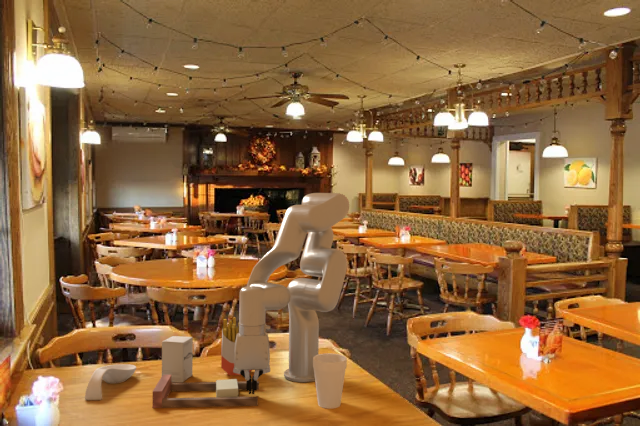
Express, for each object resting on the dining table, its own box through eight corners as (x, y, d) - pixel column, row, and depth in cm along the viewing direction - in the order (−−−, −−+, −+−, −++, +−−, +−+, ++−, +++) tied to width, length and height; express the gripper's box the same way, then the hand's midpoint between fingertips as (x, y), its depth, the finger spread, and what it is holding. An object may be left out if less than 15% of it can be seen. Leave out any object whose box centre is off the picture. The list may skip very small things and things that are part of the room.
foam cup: (334, 413, 147) (335, 365, 147) (306, 406, 152) (306, 359, 152) (352, 402, 155) (352, 356, 155) (324, 395, 160) (324, 351, 160)
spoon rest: (104, 374, 178) (104, 352, 178) (141, 374, 178) (141, 352, 178) (72, 401, 154) (72, 376, 154) (114, 401, 154) (114, 376, 154)
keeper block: (236, 392, 163) (236, 379, 163) (238, 402, 155) (238, 388, 155) (216, 393, 162) (216, 380, 161) (216, 403, 154) (216, 389, 154)
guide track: (259, 387, 166) (259, 373, 166) (257, 405, 152) (257, 389, 152) (162, 389, 164) (162, 374, 164) (152, 407, 150) (152, 391, 150)
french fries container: (255, 375, 177) (255, 320, 177) (221, 375, 177) (221, 320, 176) (255, 370, 182) (256, 316, 181) (222, 371, 181) (222, 317, 181)
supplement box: (183, 383, 169) (183, 342, 169) (160, 381, 171) (161, 341, 171) (193, 375, 177) (193, 336, 176) (171, 373, 178) (172, 335, 178)
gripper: (278, 326, 163) (277, 387, 163) (227, 326, 161) (226, 388, 162) (278, 332, 155) (277, 396, 156) (224, 333, 154) (224, 397, 154)
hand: (251, 392), depth 159 cm, fingers closed
